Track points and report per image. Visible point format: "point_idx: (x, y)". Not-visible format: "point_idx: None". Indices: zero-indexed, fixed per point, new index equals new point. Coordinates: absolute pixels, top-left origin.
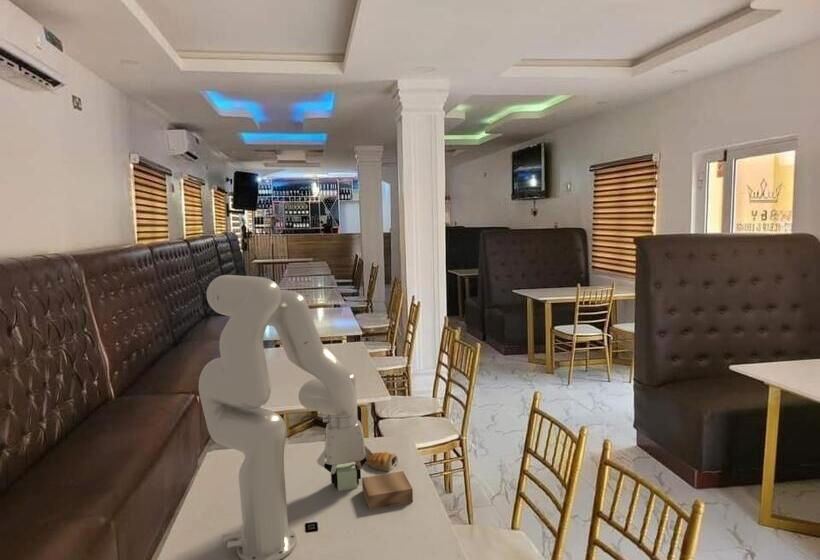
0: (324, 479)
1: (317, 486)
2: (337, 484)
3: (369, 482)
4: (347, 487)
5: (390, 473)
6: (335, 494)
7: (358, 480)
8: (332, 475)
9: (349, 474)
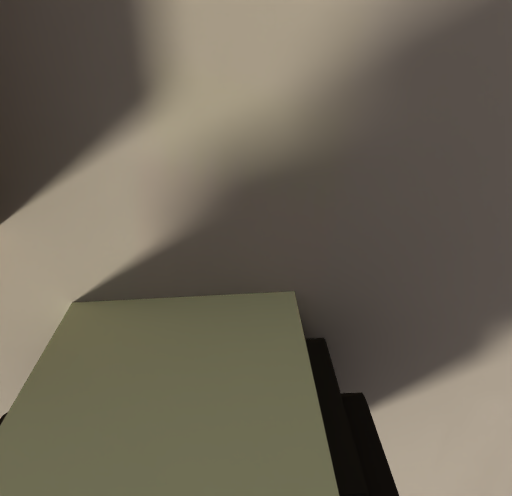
0: None
1: (477, 409)
2: None
3: None
4: (185, 309)
5: None
6: (339, 234)
7: None
8: (384, 486)
9: (113, 453)
